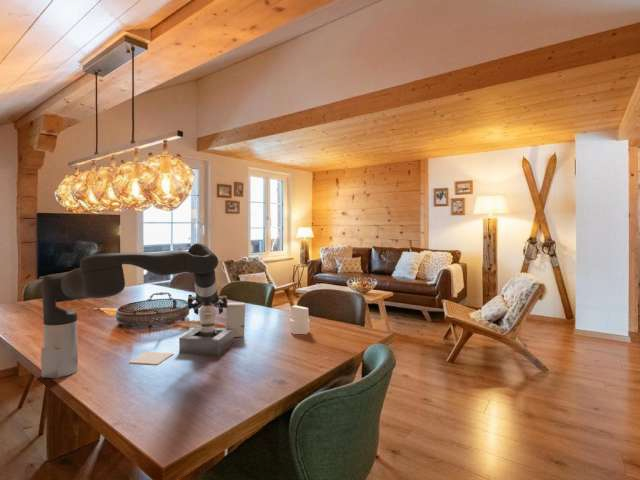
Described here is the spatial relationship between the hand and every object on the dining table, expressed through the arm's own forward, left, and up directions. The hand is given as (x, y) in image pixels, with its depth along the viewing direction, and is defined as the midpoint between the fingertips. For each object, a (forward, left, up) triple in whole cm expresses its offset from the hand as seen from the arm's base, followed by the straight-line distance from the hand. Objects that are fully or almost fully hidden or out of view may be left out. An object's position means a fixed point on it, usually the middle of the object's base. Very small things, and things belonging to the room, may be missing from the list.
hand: (209, 312), depth 143 cm
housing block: (+6, +3, -16) cm, 17 cm away
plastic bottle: (+6, +3, -16) cm, 17 cm away
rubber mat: (-9, +18, -16) cm, 26 cm away
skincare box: (+24, -2, -16) cm, 29 cm away
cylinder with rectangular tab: (+34, -30, -16) cm, 48 cm away
